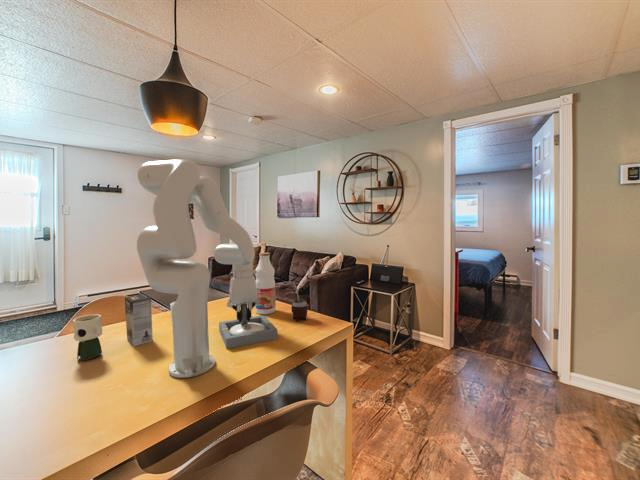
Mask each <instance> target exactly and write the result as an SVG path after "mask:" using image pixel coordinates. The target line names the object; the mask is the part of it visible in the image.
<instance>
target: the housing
mask: <svg viewBox="0 0 640 480" xmlns="http://www.w3.org/2000/svg"><path fill="white" fill-rule="evenodd" d="M248 323H260V324H262V325H263V326H264V330H261V331H255V332H249V333H244V334H238V335H233V336H231V334H230V329H231V328H232V327H233V326H235V325H238V324H241V322H239V320H237V319H231V320H223V321H219V322H218V332H219V333H220V336H221V338H222V341H223V343H224V346H225V349H226V350H228V349H234V348H239V347H243V346H244V347H245V346H248V345H255V344H259V343H264V342H269V341H274V340H278V339H279V338H278V337H279V336H278V329H277V328H276V327H275V325H274V324H273V323H272V322H271V321H270V320H269V319H268V317H266V316H265V314H261V315H256V316H251V318H250V321H248Z"/></svg>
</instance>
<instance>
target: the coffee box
mask: <svg viewBox="0 0 640 480" xmlns="http://www.w3.org/2000/svg"><path fill="white" fill-rule="evenodd" d="M124 306H125V307H124V308H125V309H124V311H125V324H126V325H125V326H126V327H125V328H126V339H127V341H128V342H129V343H130V344H131V345H132V346H133V347H137V346H141V345H145V344H147V343H152V342H154V340H153V320H152V319H153V318H152V317H153V316H152V313H153V312H152V298H151V297H149V296H148V295H146V294H145V293H140V294H136V295H135V294H134V295H130V296H125V297H124Z"/></svg>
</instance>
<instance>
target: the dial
mask: <svg viewBox="0 0 640 480" xmlns="http://www.w3.org/2000/svg"><path fill="white" fill-rule="evenodd" d="M247 308H248V305H247V303H245V304H240V310H241V314H242V322H241V324H238V325H235V326H233V327H232V328H231V329H230V334H231V336H233V335H238V334H244V333H249V332H255V331H261V330H264V326H263V325H262V324H260V323H248V314H247Z"/></svg>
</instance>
